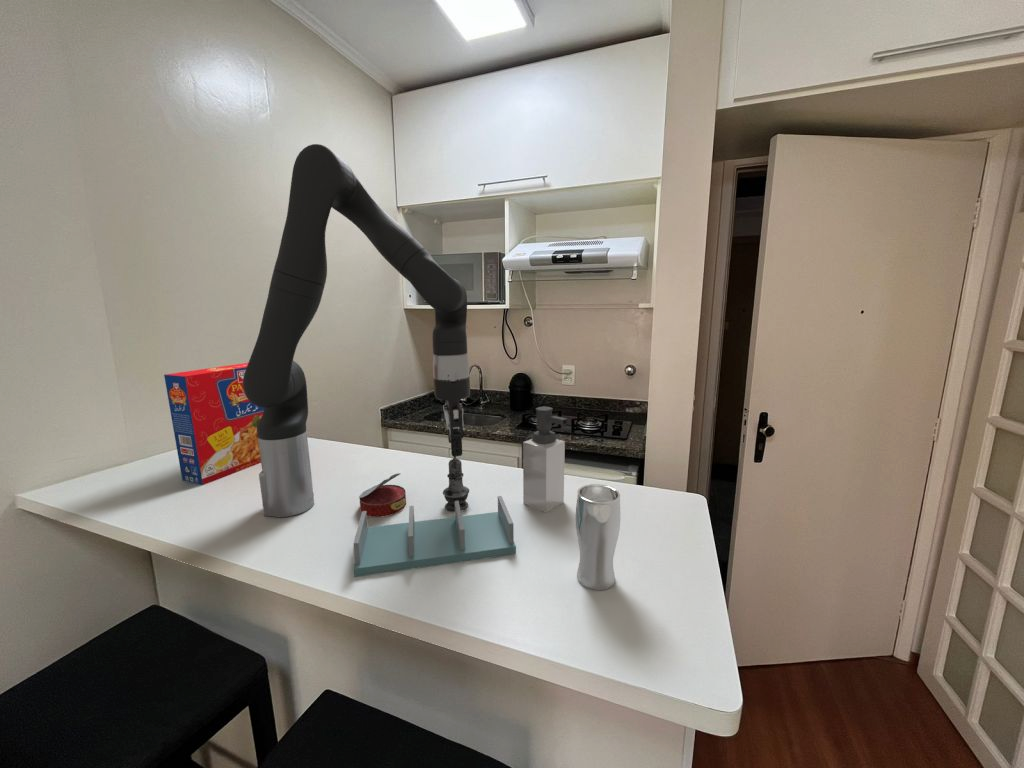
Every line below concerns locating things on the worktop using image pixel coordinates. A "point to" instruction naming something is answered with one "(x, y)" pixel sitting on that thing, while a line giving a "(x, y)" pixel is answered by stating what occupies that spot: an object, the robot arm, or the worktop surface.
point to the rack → (432, 541)
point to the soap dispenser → (544, 464)
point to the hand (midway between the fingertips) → (455, 448)
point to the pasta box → (213, 422)
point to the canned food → (383, 499)
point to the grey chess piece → (455, 487)
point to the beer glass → (597, 534)
